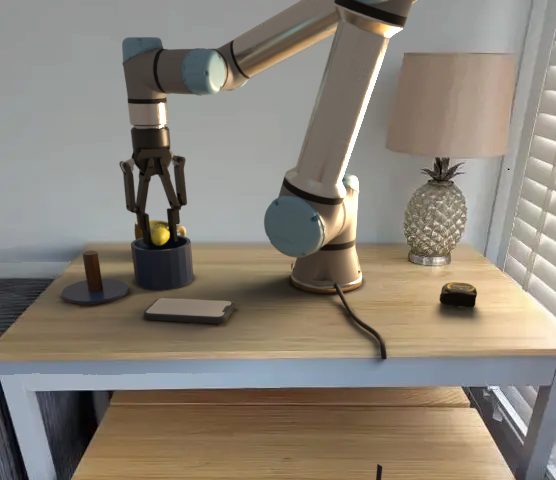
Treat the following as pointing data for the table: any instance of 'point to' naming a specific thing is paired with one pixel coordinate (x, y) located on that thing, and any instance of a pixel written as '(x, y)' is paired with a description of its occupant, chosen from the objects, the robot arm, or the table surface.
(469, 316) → the table surface
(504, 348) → the table surface
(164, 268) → the tin
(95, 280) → the lid
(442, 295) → the tape measure
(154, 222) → the mug
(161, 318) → the phone case
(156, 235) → the lemon
